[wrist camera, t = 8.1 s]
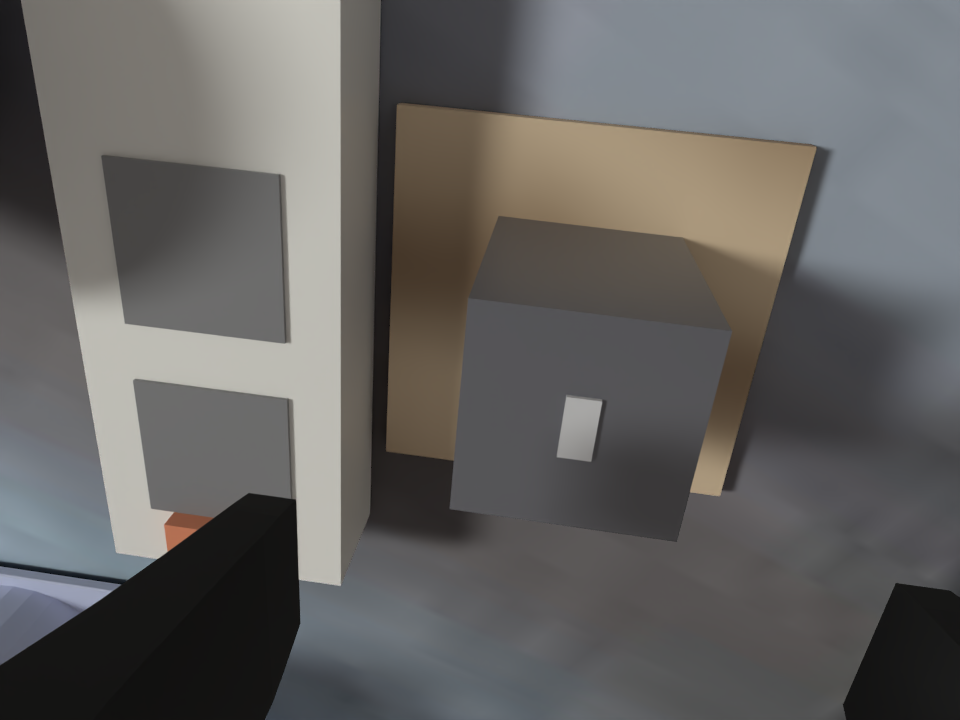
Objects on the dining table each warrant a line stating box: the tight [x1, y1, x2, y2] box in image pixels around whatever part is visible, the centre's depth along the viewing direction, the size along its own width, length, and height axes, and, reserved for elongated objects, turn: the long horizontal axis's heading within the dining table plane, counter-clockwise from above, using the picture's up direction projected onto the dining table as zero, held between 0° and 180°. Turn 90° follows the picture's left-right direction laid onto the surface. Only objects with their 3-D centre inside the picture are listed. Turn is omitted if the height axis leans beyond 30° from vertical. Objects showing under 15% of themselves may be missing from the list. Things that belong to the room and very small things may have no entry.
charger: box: [450, 216, 732, 542], centre depth 15 cm, size 4×4×6 cm
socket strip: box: [21, 0, 381, 586], centre depth 15 cm, size 20×6×4 cm, turn 175°
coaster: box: [386, 103, 817, 496], centre depth 18 cm, size 9×9×1 cm
